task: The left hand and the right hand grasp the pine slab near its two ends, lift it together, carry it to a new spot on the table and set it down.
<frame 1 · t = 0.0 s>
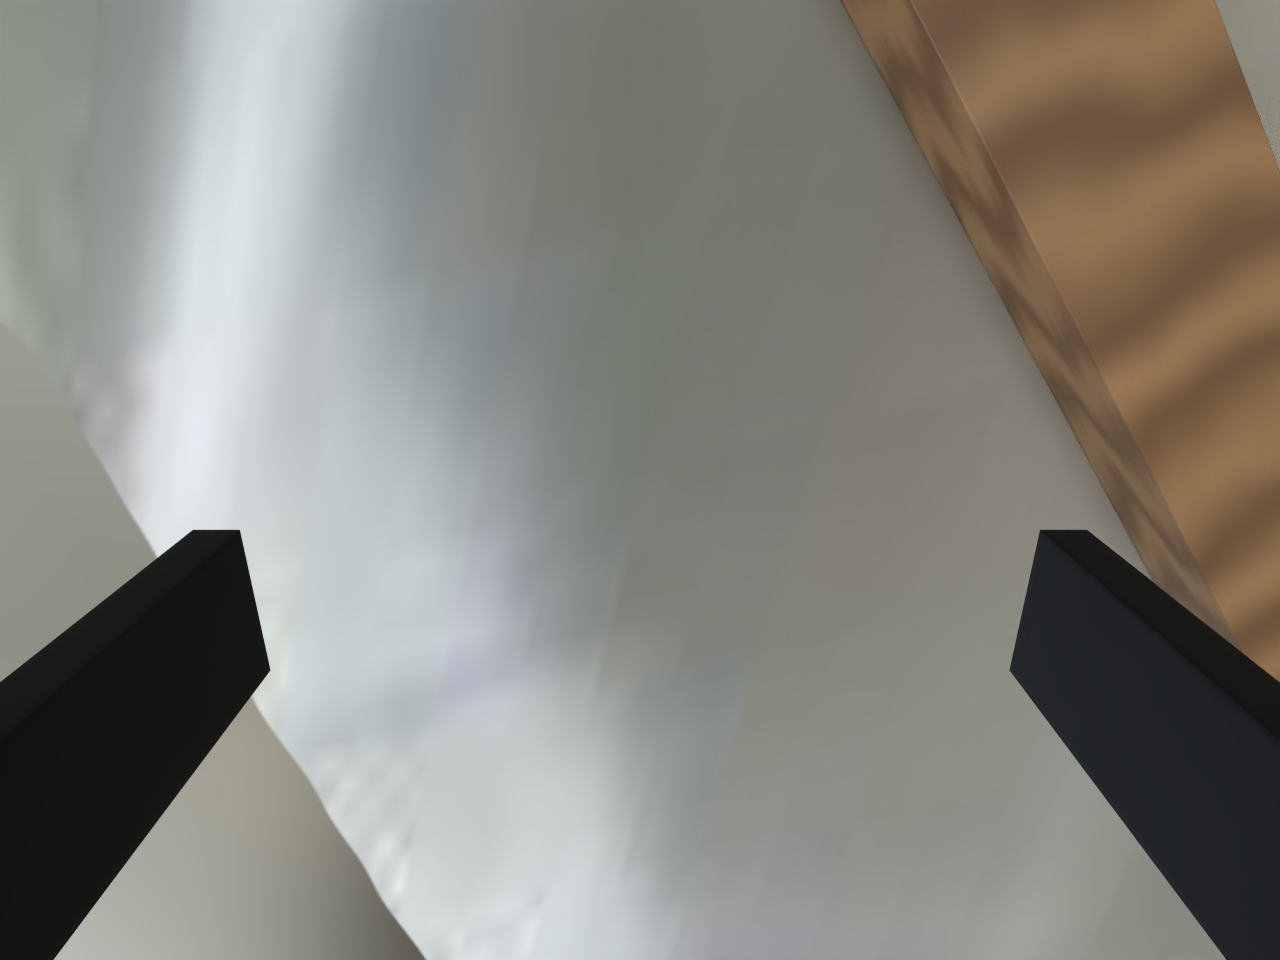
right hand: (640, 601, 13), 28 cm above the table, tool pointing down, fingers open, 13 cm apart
slab: (1183, 449, 41), on the table
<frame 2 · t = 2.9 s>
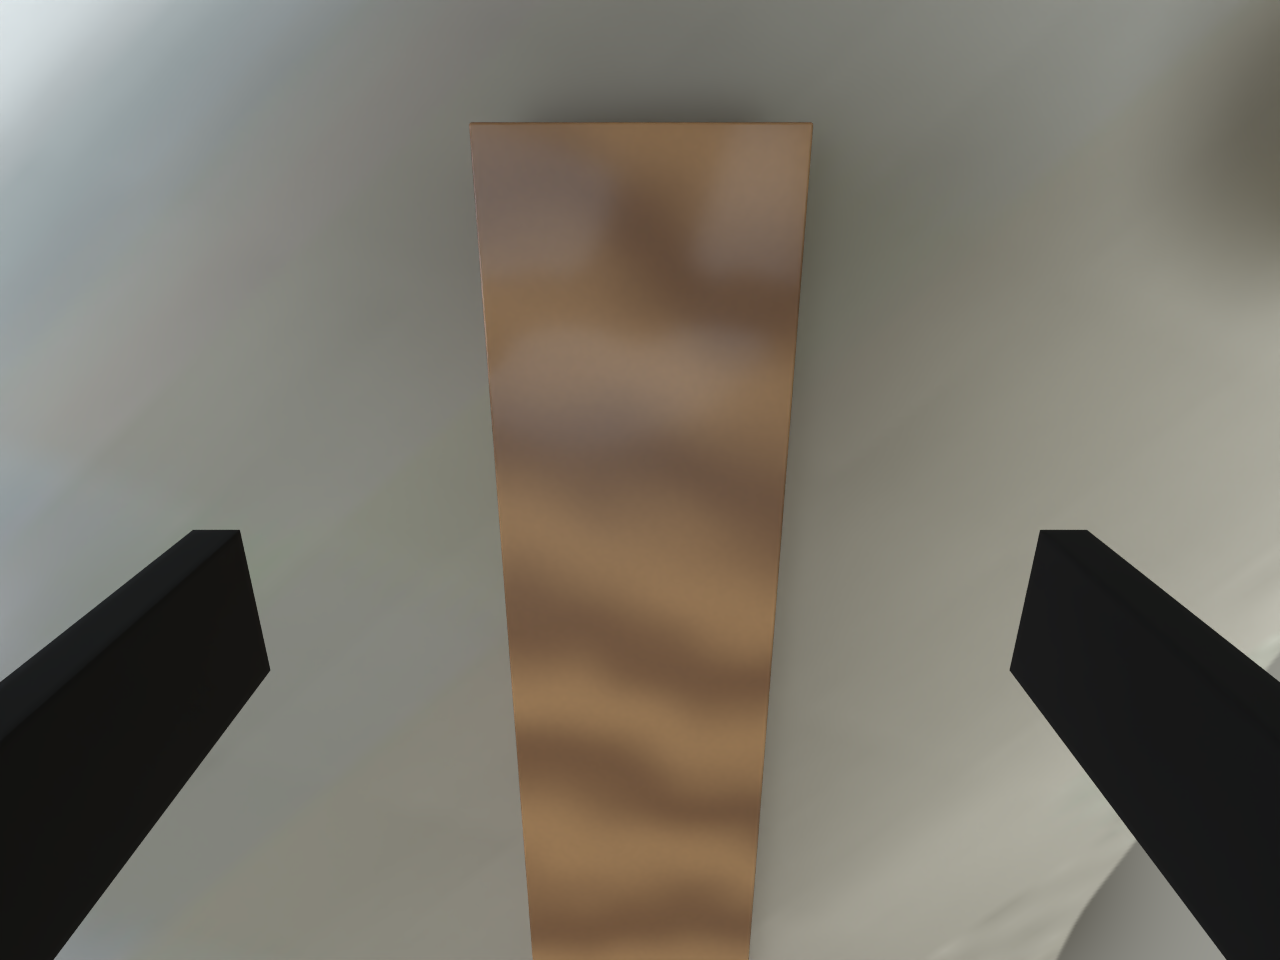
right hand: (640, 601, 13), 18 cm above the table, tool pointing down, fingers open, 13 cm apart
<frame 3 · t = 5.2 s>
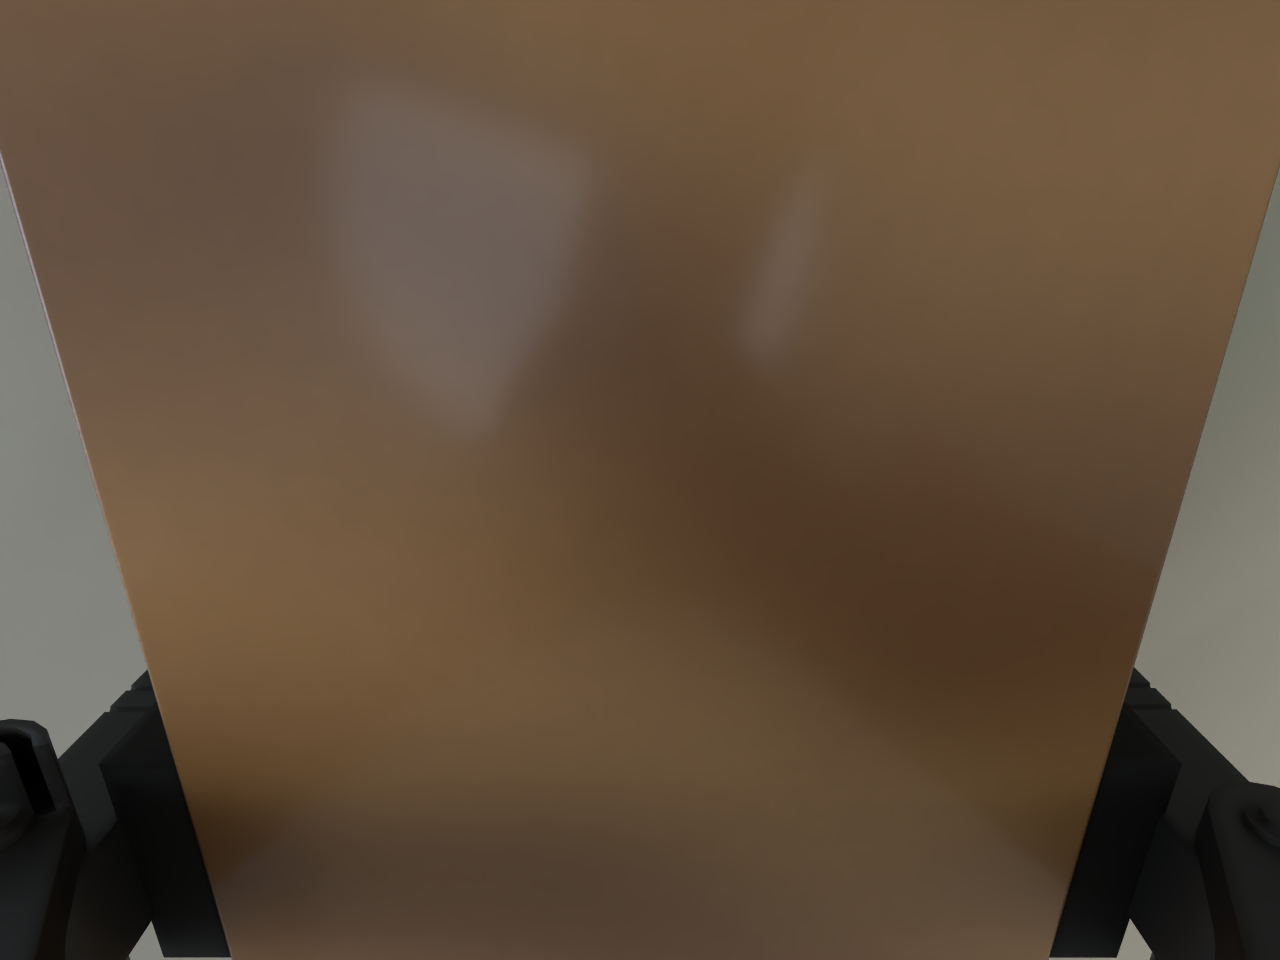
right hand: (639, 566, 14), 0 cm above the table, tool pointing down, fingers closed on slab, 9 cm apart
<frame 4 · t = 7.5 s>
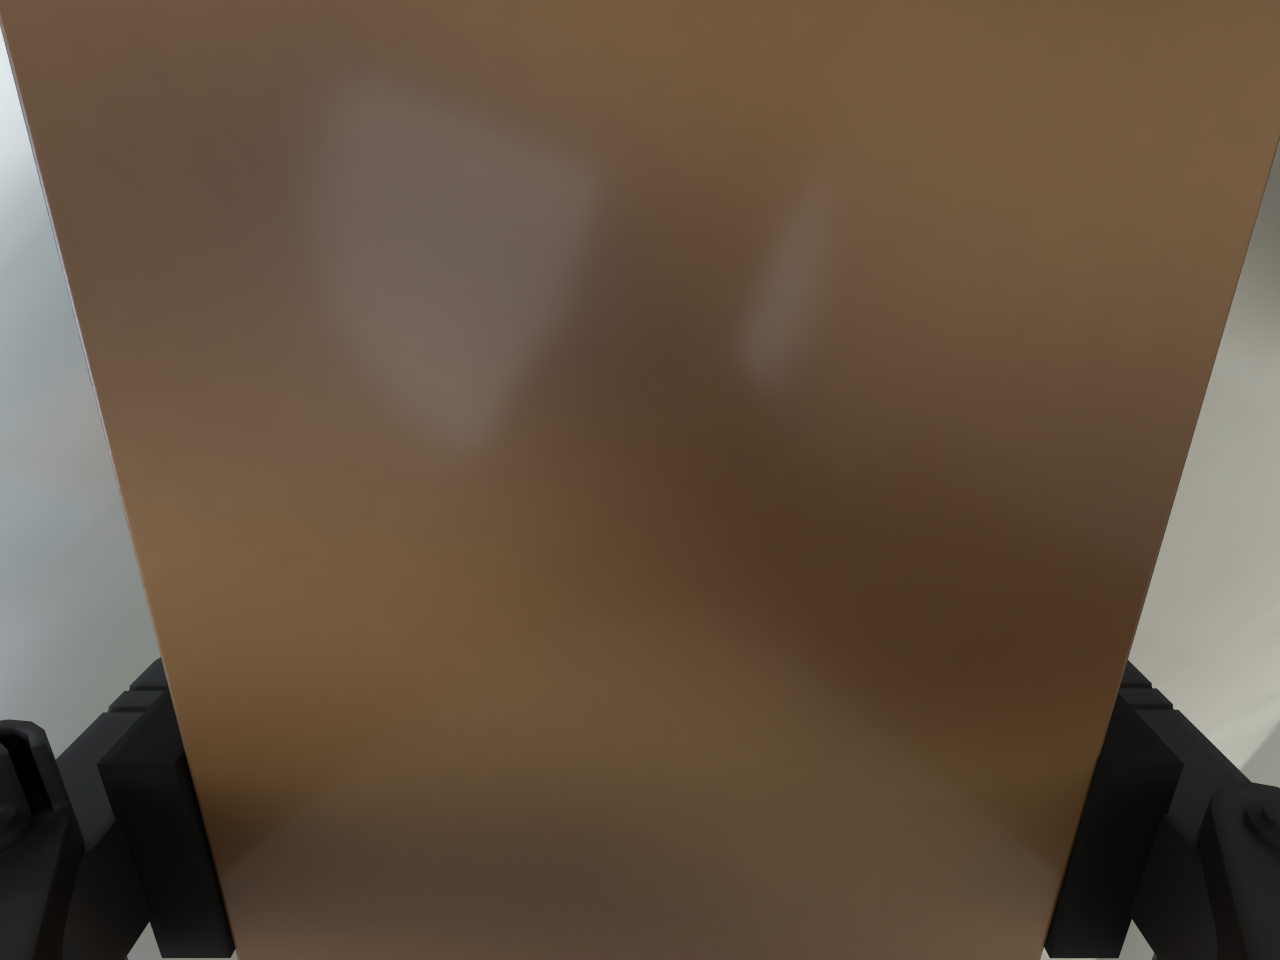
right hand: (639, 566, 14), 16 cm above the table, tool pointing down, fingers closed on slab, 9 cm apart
when the left hand's fingers open (2 cm above the table, at t = 12.4 s): slab stays where it is, on the table.
when the right hand's fingers open (2 cm above the table, at t = 12.4 s): slab stays where it is, on the table.
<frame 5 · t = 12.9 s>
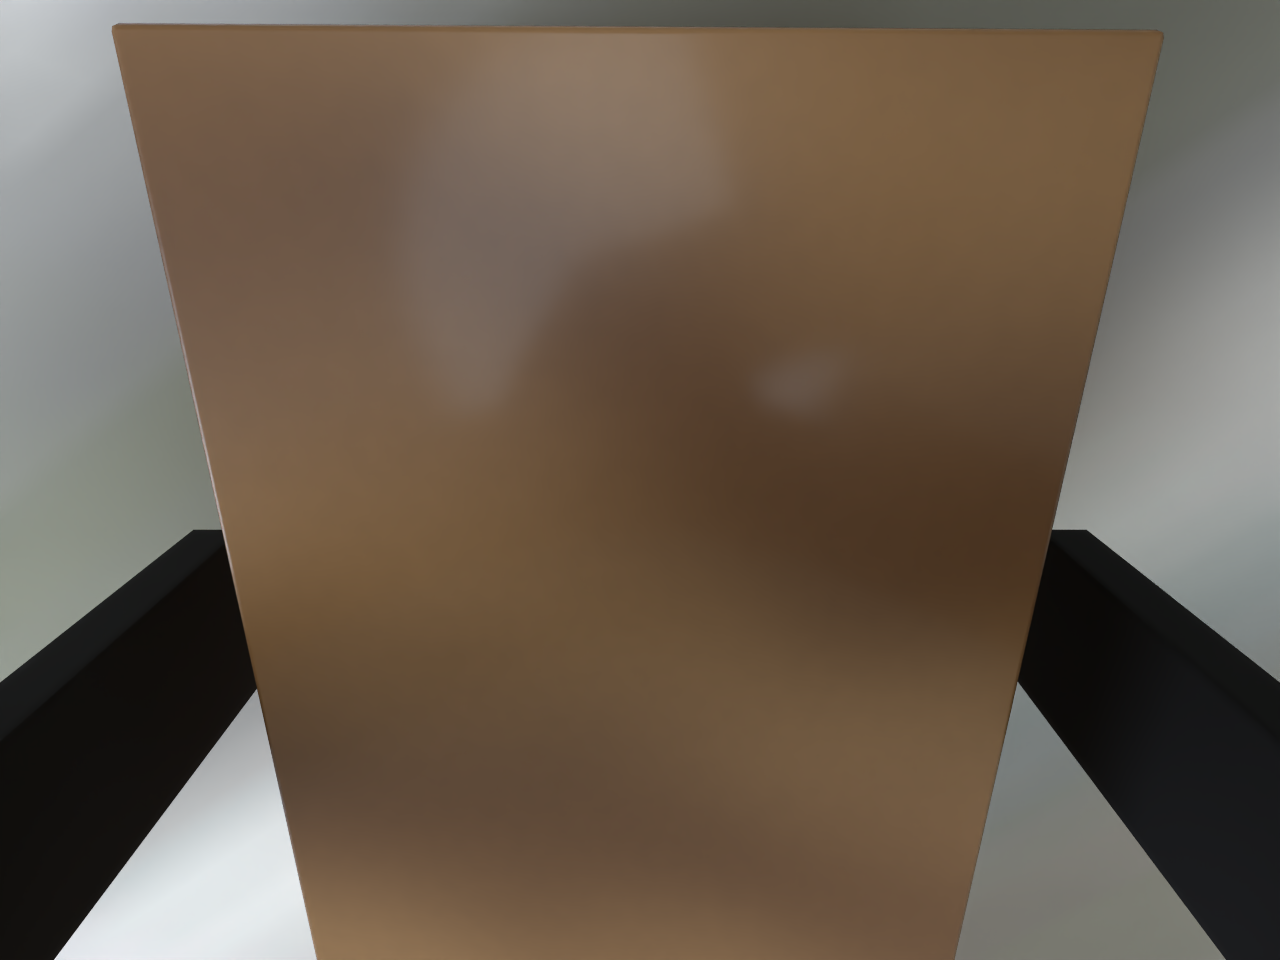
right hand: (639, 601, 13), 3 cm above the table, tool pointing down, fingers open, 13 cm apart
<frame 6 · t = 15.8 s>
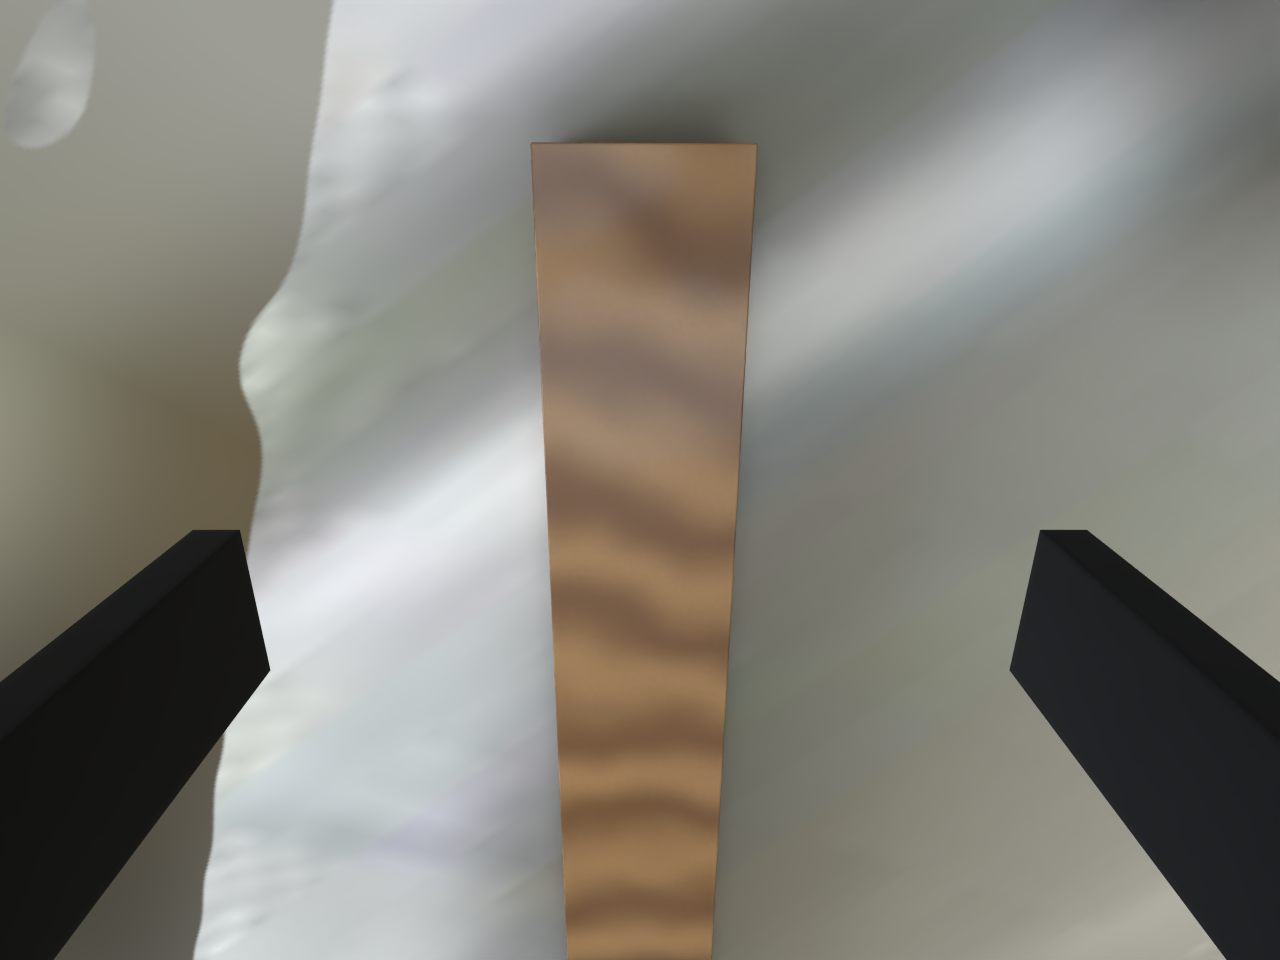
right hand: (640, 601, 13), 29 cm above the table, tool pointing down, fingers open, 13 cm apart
slab: (639, 811, 52), on the table
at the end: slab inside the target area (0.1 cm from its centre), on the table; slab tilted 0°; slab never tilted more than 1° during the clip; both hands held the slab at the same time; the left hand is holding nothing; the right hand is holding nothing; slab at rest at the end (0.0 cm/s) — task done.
